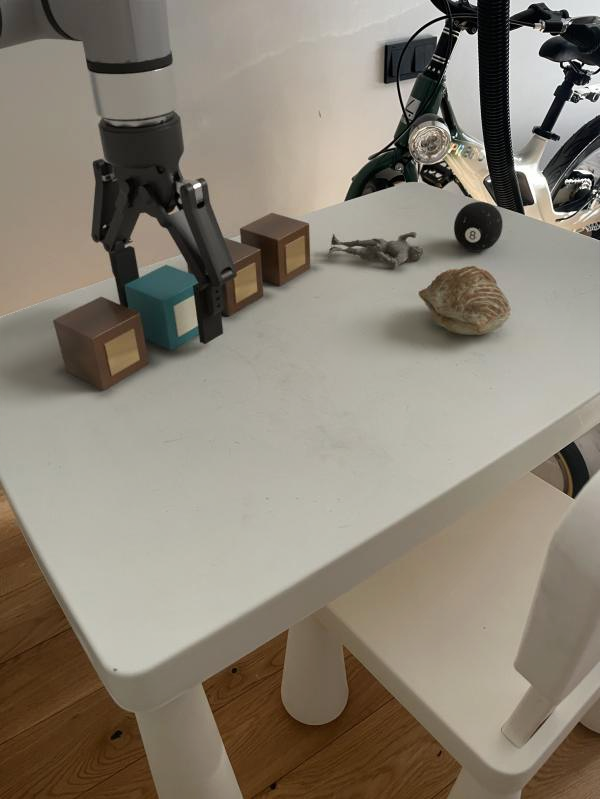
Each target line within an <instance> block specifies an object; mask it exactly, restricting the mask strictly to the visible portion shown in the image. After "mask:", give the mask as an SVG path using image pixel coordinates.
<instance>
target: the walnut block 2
mask: <svg viewBox="0 0 600 799" xmlns="http://www.w3.org/2000/svg"><path fill="white" fill-rule="evenodd" d="M223 238H224V240H225V243H226V246H227V248H228V251H229V254H230V256H231V259H232V261H233V264H234V267H235V269H236V272H237V276H236V277H235V278H234V279H232V280H230V281H228V282H226V283H225V284H223V285H222V295H223V305H224V307H223V310H222V311H221V315H224V316H227V317H230V316H232V315H234V314H236V313H237V312H239V311H241V310H243V309H244V308H246V307H247V306H249V305H251V304H253V303H254V302H256V301H258V300H259V299H261V298H262V297H264V284H263V281H264V280H262V266H261V251H260V249H258V248H255V247H252V246H249V245H246V244H243V243H241V242H239V241H236V240H233V239H229V238H227V237H224V236H223ZM186 266H187V267H186V268H187V272H188V273H190V274H193V273H192V271H191V269H190V267H189V266H188V264H187V263H186ZM205 273H208V272H207V270H205ZM193 275H194V274H193Z"/></svg>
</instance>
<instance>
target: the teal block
mask: <svg viewBox="0 0 600 799" xmlns="http://www.w3.org/2000/svg"><path fill="white" fill-rule="evenodd" d="M197 283H198V281H197V280H196V278H195V276H194V275H193V274H190V273H188V271H185V270H182V269H179V268H176V267H173V266H171V265H168V264H164V265H162V266H160V267H158V268H156V269H154V270H152V271H150V272H148V273H145V274H144V275H142V276H139V278H138V279H136V280H134V281H132V282H130V283H128V284H126V285H125V291H126V296H127V301H128V307H129V309H131V310H134V311H136V312H138V313H140V316H141V322H142V327H143V333H144V338H145V341H146V340H147V341H149V342H151V343H153V344H154V345H157V346H160V347H162V348H164V349H167V350H169V351H173V350H175V349H177V348H178V347H180V346H182V345H183V344H185V343H186V342H189V341H190V340H191V339H193V338H195V337H196V336H199V330H198V323H197V315H196V307H195V299H194V292H193V285H195V284H197Z"/></svg>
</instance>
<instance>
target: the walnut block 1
mask: <svg viewBox="0 0 600 799" xmlns="http://www.w3.org/2000/svg"><path fill="white" fill-rule="evenodd" d="M52 322H53V326H54V331H55V335H56V338H57V341H58V345H59V349H60V352H61V357H62V360H63V364H64V368H65V371H66V372H67V373H69V374H71V375H73V376H75V377H77V378H79V379H80V380H82V381H84V382H86V383H87V384H90V385H91V386H94V387H96V388H97V389H99V390H101V391H106V390H108V389H109V388H111V387H112V386H114V385H115V384H118V383H119V382H121V381H123V380H125V379H126V378H127V377H130V376H131V375H133V374H135V373H136V372H138V371H139V370H141V369H143V368H145V367H146V366H148V365H149V364H150V362H149V356H148V355H149V354H148V351H147V344H146V339H145V338H144V333H143V327H142V322H141V316H140V313H138V312H136V311H134V310H131V309H129V308H127V307H124V306H122V305H120V303H118V302H115V301H113V300H111V299H108V298H106V297H103V296H99V297H97V298H95V299H93V300H91V301H89V302H87V303H85V304H83V305H81V306H79V307H77V308H75V309H72V310H71V311H69V312H67V313H64V314H62V315H60V316H58V317H56V318H54V319H53V321H52Z"/></svg>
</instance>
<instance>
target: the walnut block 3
mask: <svg viewBox="0 0 600 799" xmlns="http://www.w3.org/2000/svg"><path fill="white" fill-rule="evenodd" d="M239 236H240V243H243V244H246V245H249V246H252V247H255V248H258V249H260V251H261V266H262V281H264V282H266V283H270V284H272V285H276V286H278V287H281V286H283V285H285V284H287V283H288V282H289V281H291V280H293V279H294V278H296V277H298V276H300V275H301V274H303V273H305V272H306V271H308V270H310V269H311V243H310V242H311V241H310V240H311V239H310V237H311V236H310V223H309V222H306V221H303V220H299V219H296V218H292V217H288V216H285V215H281V214H277V213H275V212H270V213H268V214H266V215H263V216H262V217H260V218H258V219H256V220H254V221H252V222H250V223H248V224H246V225H243V226H242V227H240V228H239Z"/></svg>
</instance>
